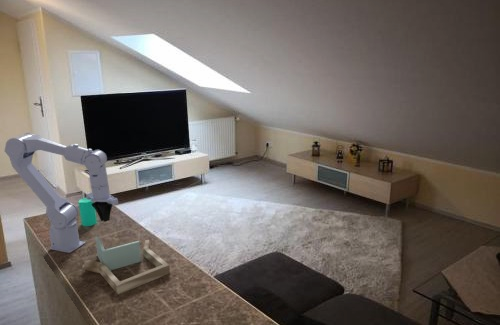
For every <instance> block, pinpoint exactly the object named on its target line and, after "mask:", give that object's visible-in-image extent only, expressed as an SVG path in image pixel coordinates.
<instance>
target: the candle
mask: <svg viewBox="0 0 500 325" xmlns="http://www.w3.org/2000/svg"><path fill="white" fill-rule="evenodd" d="M92 203H94V202H91V199H90V200H87V196H85V197H84V198H81V199H79V200H78V211H79V214H80V220H81V225H82V226H83V227H91V226H93V225H94V226H95V225H96V224H97V223H98V218H97V211H96V210H95V208H94V207H93V206H92Z"/></svg>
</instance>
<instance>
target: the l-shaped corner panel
mask: <svg viewBox="0 0 500 325" xmlns="http://www.w3.org/2000/svg"><path fill="white" fill-rule="evenodd" d="M94 239H95V244H96V252H97V257H98V260H99V262H101V263H104V264H105V266H106V267H107V268H108V269H109V270H110V271H114V270H117V269H120V268H125V267H127V266H130V265H134V264H137V263H141V262H142V261H143V260H142V253H141V244H140V240H136V241H132V242H129V243H125V244H121V245H118V246H114V247H110V248H109V247H108V248H106V249H105V247H104V245H103V243H102V240H101V239H100V237H99V236H95V238H94Z"/></svg>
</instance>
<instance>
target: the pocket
mask: <svg viewBox="0 0 500 325" xmlns="http://www.w3.org/2000/svg"><path fill="white" fill-rule="evenodd" d="M150 243H151V242H150V239H146V240H144V245H143V255H144V258H146V259H147V260H148V261H149V262H150V263H151V264H152V265H154V268H151V269H148V270H146V271H143V272H140V273H138V274H136V275H133V276H131V277H129V278H128V277H127V278H126V279H123V280H119V279H118V278H117V277H116V276H115V275H114V273H113V272H112V270H109V269H108V268H107V267H106V266H105V264H104V263H101V262H100V261H97V260H91V259H87V260H85V261H84V268H85V271H89V272H92V273H93V272H94V273H98V274H99V275H101V276H102V278H104V280H105V281H106V282H107V283H108V284H109V286H110V287H111V288H112V289H113V291H114V292H115V293H116V294H117V295H121V294H123V293H126V292H128V291H130V290H133V289H135V288H138V287H141V286H143V285H145V284H148V283H149V282H152V281H156V280H157V279H159V278H162V277H164V276H166V275H169V274H171V272H170V271H171V270H170V264H169V263H168V262H166V261H165V260H164V259H163V258H161V257H160V256H159V255H158V254H156V253H155V252H154V251H153V250H151V244H150Z"/></svg>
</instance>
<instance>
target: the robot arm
mask: <svg viewBox="0 0 500 325" xmlns="http://www.w3.org/2000/svg"><path fill="white" fill-rule="evenodd" d="M79 145H80V144H78V143H74V144H68V145H64V144H61V143H58V142H57V141H53V140H51V139H47V138H45V137H42V136H40V135H39V134H34V133H30V132H26V133H24V134H21V135H18V136H16V137H12V138H9V139H7V141H6V142H5V147H4V153H5V154H6V155H7V156H8V158H9V161H10V164H11V167H12V168H13V169H14V171H15V172H16V173H17V174H18V175H19V176H20V178H21V179H22V180H23V181H24V182H25V183H26V185H27V186H28V187H29V188H30V189H31V190H32V192H33V193H34V194H35V195H36V196H37V198H38V199H39V200H40V201H41V202H42V203H43V205H44V206H45V207H46V211H45V215H46V216H47V218H48V220H49V223H50V227H49V231H48V235H49V240H50V244H51V245H50V246H51V247H49V249H50V250H53V251H57V252H62V253H63V252H64V253H68V254H70V253H72V252H74V251H75V250H76V249H79V248H80V247H81V246H84V245H85V244H86V241H83V240H80V236H79V231H78V230H79V229H78V223H77V217H78V215H79V207H77V206H76V204H74V203H72V202H71V201H70V200H68V199H67V198H64V197H61V196H60V195H59V194H58V193H57V191H56V190H55V189H54V188H53V187H52V185H51V184H50V183H49V182H48V181H47V180H46V178H45V177H44V176H43V175H42V174H41V172H40V171H39V170H38V169H37V167H36V166H35V165H34V164H33V162H32V161H33V158H34V154H35V152H37V151H43V152H47V153H52V154H55V155H60V156H63V158H64V160H66V161H68V162H72V163H75V164H79V165H82V166H84V167H85V168H86V169H87V170H88V175H89V176H88V177H89V182H90V188H91V192H89V193H87V194H85V195H86V196H85V197H86V198H87V200H90V199H91V202H94V203H92V206H93V207H94V208H95V211H96V214H97V215H98V217H99V220H100V221H101V222H108V221H110V218H111V213H112V212H111V211H112V207H113V206H117V205H119V199H118V197H114V196H113V195H111V193H110V192H111V191H110V186H109V180H108V174H107V168H106V167H107V166H106V163H107V160H108V157H107V153H105V152H104V151H103V150H100V149H95V150H93V149H92V148H86V147H83V146H79Z"/></svg>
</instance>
